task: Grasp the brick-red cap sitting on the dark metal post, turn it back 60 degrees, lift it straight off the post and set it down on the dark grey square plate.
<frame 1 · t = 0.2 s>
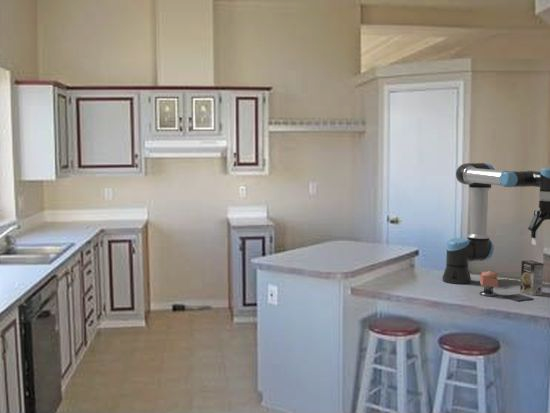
hand: (545, 243, 311), 28 cm above the counter, fingers open, 13 cm apart
cap: (488, 284, 322), point 5 cm above the counter, touching post
post: (488, 294, 323), on the counter
dark grey square plate: (518, 298, 316), on the counter
coffee box: (530, 293, 327), on the counter
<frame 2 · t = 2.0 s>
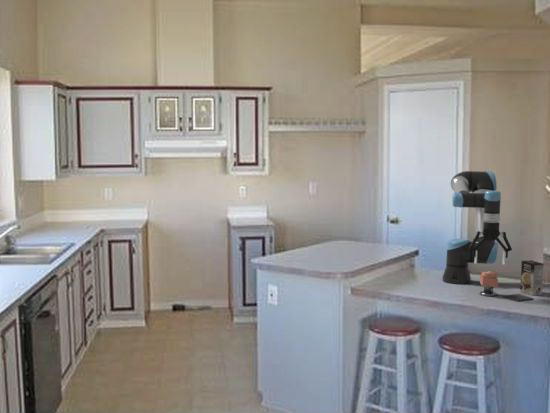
hand: (489, 264, 321), 16 cm above the counter, fingers open, 13 cm apart
nothing on the counter moved.
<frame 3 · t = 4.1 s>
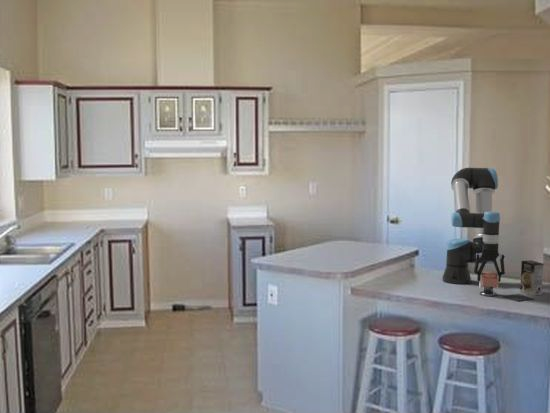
hand: (488, 287, 322), 4 cm above the counter, fingers closed on cap, 7 cm apart
cap: (488, 284, 322), point 5 cm above the counter, touching gripper, post
everything else where it was.
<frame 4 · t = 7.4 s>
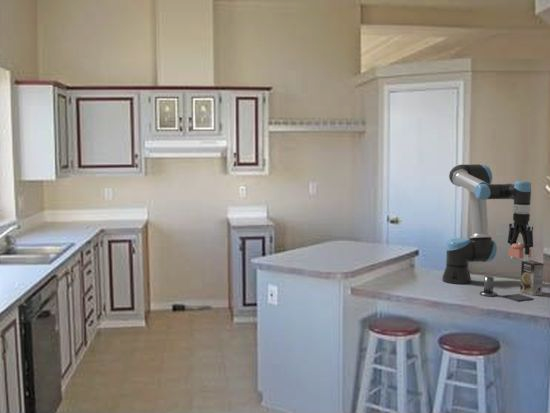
hand: (519, 259, 314), 19 cm above the counter, fingers closed on cap, 7 cm apart
cap: (519, 256, 314), point 21 cm above the counter, touching gripper
everything else where it was.
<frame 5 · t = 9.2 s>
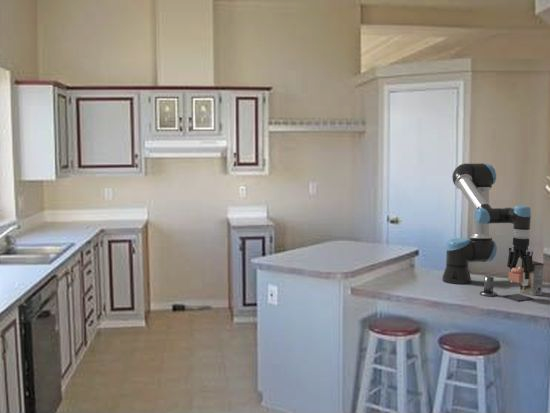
hand: (519, 283, 315), 7 cm above the counter, fingers closed on cap, 7 cm apart
cap: (519, 280, 315), point 9 cm above the counter, touching gripper
everything else where it was.
when the fingers open (2 cm above the counter, at t = 10.9 s): cap drops 2 cm, resting on dark grey square plate.
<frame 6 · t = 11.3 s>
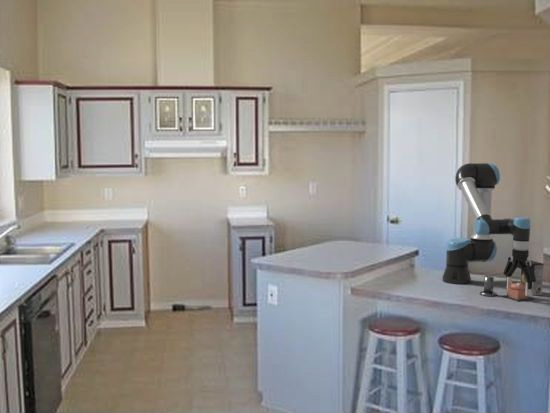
hand: (518, 292, 316), 3 cm above the counter, fingers open, 12 cm apart
cap: (518, 296, 316), point 1 cm above the counter, touching dark grey square plate
everything else where it was.
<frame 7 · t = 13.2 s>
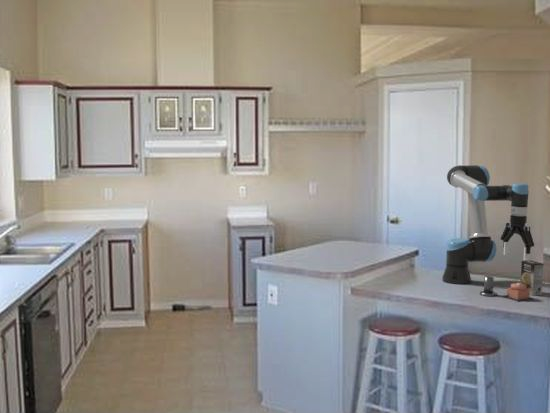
hand: (515, 257, 318), 20 cm above the counter, fingers open, 13 cm apart
nothing on the counter moved.
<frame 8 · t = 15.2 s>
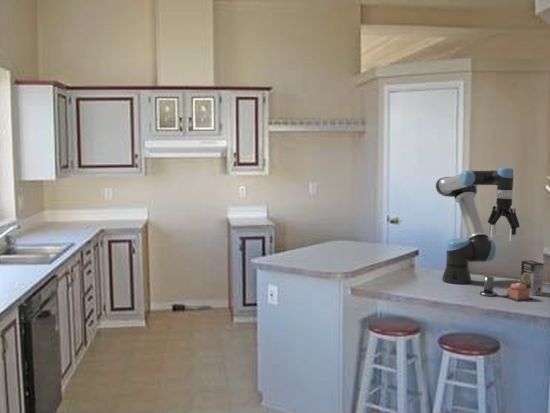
hand: (502, 239, 330), 27 cm above the counter, fingers open, 13 cm apart
nothing on the counter moved.
at the end: cap inside the target area on the dark grey square plate (0.1 cm from its centre), point 0.6 cm above the dark grey square plate's base; cap tilted 0°; the gripper is holding nothing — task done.
